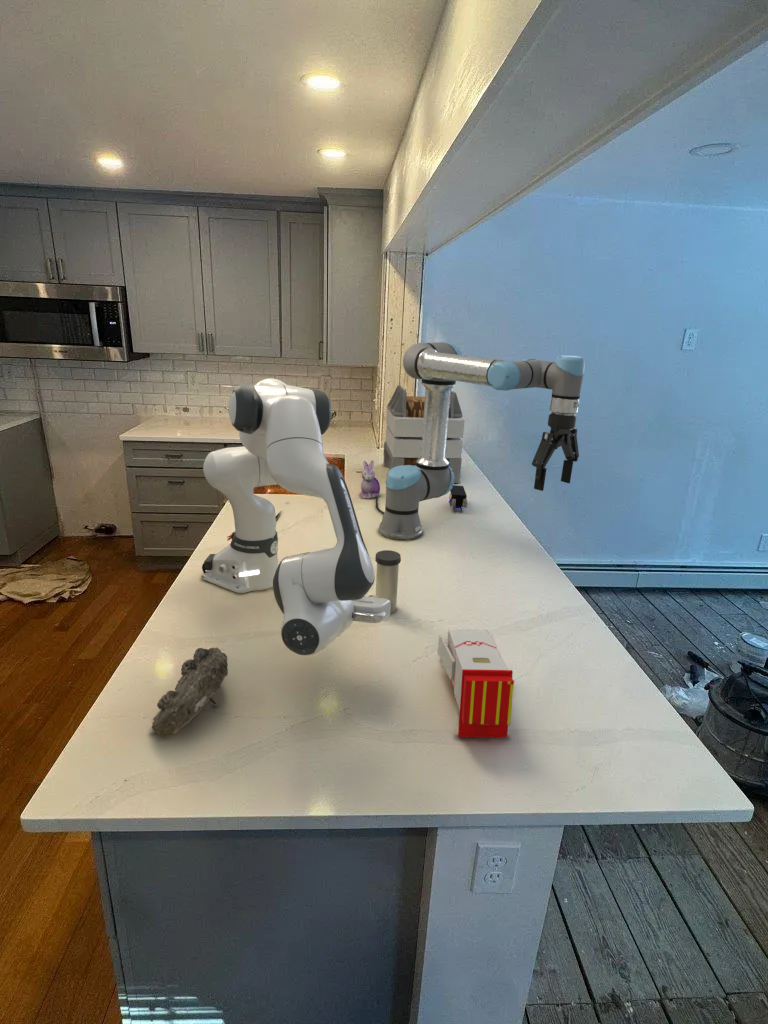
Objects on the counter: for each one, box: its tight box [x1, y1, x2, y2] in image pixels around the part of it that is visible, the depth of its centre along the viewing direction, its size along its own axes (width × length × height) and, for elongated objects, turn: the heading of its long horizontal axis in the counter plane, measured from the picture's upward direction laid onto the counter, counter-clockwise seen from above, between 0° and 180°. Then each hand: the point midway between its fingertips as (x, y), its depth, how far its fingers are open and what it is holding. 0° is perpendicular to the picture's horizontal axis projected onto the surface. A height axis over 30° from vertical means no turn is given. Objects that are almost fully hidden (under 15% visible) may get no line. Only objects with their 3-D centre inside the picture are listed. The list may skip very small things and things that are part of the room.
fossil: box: [152, 646, 229, 736], centre depth 110 cm, size 22×10×15 cm
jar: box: [375, 562, 400, 614], centre depth 147 cm, size 6×6×15 cm
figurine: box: [360, 460, 381, 499], centre depth 236 cm, size 9×10×15 cm
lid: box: [374, 549, 402, 566], centre depth 145 cm, size 6×6×2 cm
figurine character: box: [448, 484, 468, 512], centre depth 228 cm, size 7×8×15 cm
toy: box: [437, 628, 515, 738], centre depth 117 cm, size 12×13×30 cm
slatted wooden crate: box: [383, 384, 465, 484], centre depth 268 cm, size 34×33×41 cm
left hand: (353, 596), depth 126 cm, fingers open, 8 cm apart
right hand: (552, 485), depth 166 cm, fingers open, 13 cm apart
